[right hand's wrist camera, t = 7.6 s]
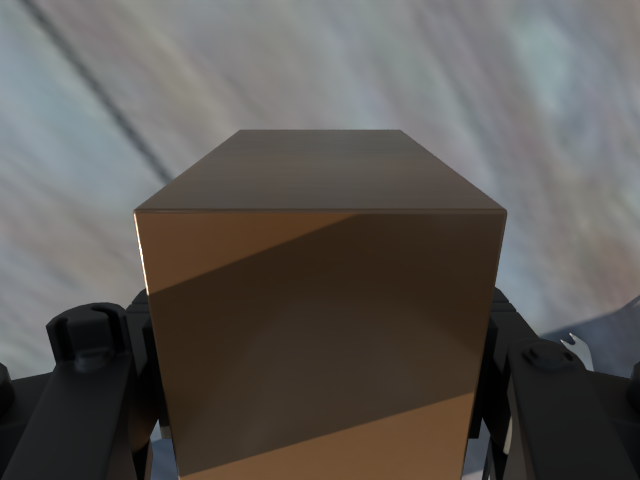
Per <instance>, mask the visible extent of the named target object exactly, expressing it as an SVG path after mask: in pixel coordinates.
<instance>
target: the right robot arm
mask: <svg viewBox="0 0 640 480" xmlns="http://www.w3.org/2000/svg"><path fill="white" fill-rule="evenodd" d="M46 329H47V333H48V336H49V340H50V343H51V347H52V351H53V354H54V358H55V361H56V366H55V368H54V370H53V372H50V373H46V374H41V375H36V376H31V377H26V378H21V379H16V380H11V379H10V376H9V373H8V370H7V367H6V366H4V365H3V364H1V363H0V480H150V476H151V467H152V459H153V451H152V445H151V440H150V435H151V433H152V431H153V429H154V427H155V425H156V422H157V420H158V419H159V425H160V430H161V436H162V439H172V437H171V431H170V425H169V419H168V414H167V408H166V402H165V396H164V390H163V385H162V379H161V373H160V367H159V361H158V355H157V350H156V344H155V338H154V332H153V326H152V321H151V315H150V309H149V303H148V297H147V292H146V288H145V289H144V290H142V291H140V293H139V294H138V295H137V296H136V298H135V299H134V300H133V301H132V305H129V306H128V308H127V309H126V310H125V309H124V308H122V307H121V306H120V305H118V304H113V303H108V302H105V303H91V304H86V305H81V306H78V307H75V308H72V309H70V310H67V311H64V312H63V313H61V314H59V315H58V316H56V317H54V318H53V319H52V320H51V321H50V322H49V323H48V324H47V325H46ZM482 417H483V420H484V422H485V424H486V426H487V428H488V430H489V432H490V440H489V445H488V450H487V455H486V460H485V465H484V470H483V476H482V480H488V477H489V475H490V480H640V362H638V363H637V364H636V365H634V368H633V371H632V374H631V377H630V379H629V378H624V377H619V376H613V375H608V374H603V373H598V372H594V371H590V370H587V369H586V367H585V365H584V363H583V362H582V361H581V359H580V358H579V357H578V356H577V355H576V354H575V353H573V352H572V351H570V350H569V349H568V348H566V347H564V346H562V345H559V344H557V343H555V342H552V341H548V340H544V339H540V338H539V337H538V336H537V335H536V334H535V332H534V331H533V330H532V329H531V327H530V326H529V325H528V324H527V322H526V321H525V320H524V319H523V318H522V316H521V315H520V314H519V313H518V312H516V309H515V308H514V307H513V305H512V304H511V303H509V300H508V299H507V298H506V297H505V295H504V294H503V293H502V292H501V291H500V290H499V289H498V288H496V287H495V288H494V294H493V299H492V305H491V311H490V317H489V322H488V328H487V334H486V340H485V346H484V351H483V357H482V363H481V369H480V375H479V380H478V386H477V392H476V398H475V404H474V409H473V415H472V421H471V427H470V433H469V438H468V439H478V437H479V432H480V427H481V421H482Z"/></svg>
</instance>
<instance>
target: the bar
mask: <svg viewBox="0 0 640 480" xmlns="http://www.w3.org/2000/svg"><path fill="white" fill-rule="evenodd" d="M133 216H134V222H135V228H136V234H137V239H138V245H139V251H140V257H141V263H142V268H143V274H144V280H145V286H146V292H147V297H148V303H149V309H150V315H151V321H152V326H153V332H154V338H155V344H156V350H157V355H158V361H159V367H160V373H161V379H162V385H163V390H164V396H165V402H166V408H167V414H168V419H169V425H170V431H171V437H172V443H173V448H174V454H175V460H176V466H177V472H178V477H179V480H461V479H462V473H463V467H464V462H465V456H466V450H467V444H468V438H469V433H470V427H471V421H472V415H473V409H474V404H475V398H476V392H477V386H478V380H479V375H480V369H481V363H482V357H483V351H484V346H485V340H486V334H487V328H488V322H489V317H490V311H491V305H492V299H493V294H494V288H495V282H496V276H497V270H498V265H499V259H500V253H501V247H502V241H503V236H504V230H505V224H506V218H507V210H506V209H505V208H503V207H502V206H501V205H499V204H498V203H497V202H495V201H494V200H493V199H491V198H490V197H489V196H487V195H486V194H485V193H483V192H482V191H481V190H479V189H478V188H477V187H475V186H474V185H473V184H472V183H470V182H469V181H468V180H466V179H465V178H464V177H462V176H461V175H460V174H458V173H457V172H456V171H454V170H453V169H452V168H450V167H449V166H448V165H446V164H445V163H444V162H442V161H441V160H440V159H438V158H437V157H436V156H434V155H433V154H432V153H430V152H429V151H428V150H426V149H425V148H424V147H423V146H421V145H420V144H419V143H417V142H416V141H415V140H413V139H412V138H411V137H409V136H408V135H407V134H405V133H404V132H403V131H401V130H239V131H238V132H236V133H235V134H234V135H232V136H231V137H230V138H228V139H227V140H226V141H224V142H223V143H222V144H221V145H219V146H218V147H217V148H215V149H214V150H213V151H211V152H210V153H209V154H207V155H206V156H205V157H203V158H202V159H201V160H199V161H198V162H197V163H195V164H194V165H193V166H191V167H190V168H189V169H187V170H186V171H185V172H183V173H182V174H181V175H179V176H178V177H177V178H175V179H174V180H173V181H171V182H170V183H169V184H167V185H166V186H165V187H163V188H162V189H161V190H159V191H158V192H157V193H156V194H154V195H153V196H152V197H150V198H149V199H148V200H146V201H145V202H144V203H142V204H141V205H140V206H138V207H137V208H136V209H134V212H133Z"/></svg>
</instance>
